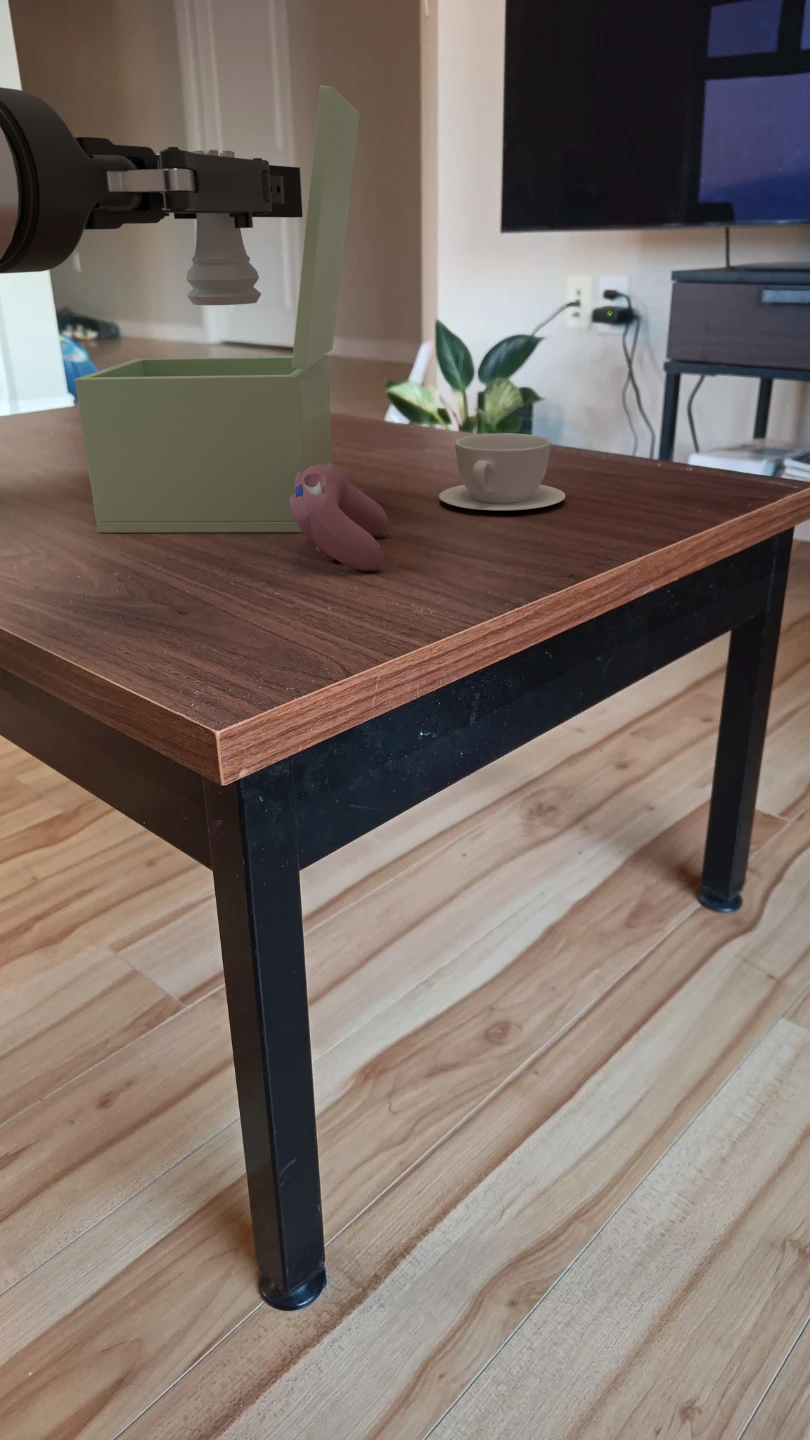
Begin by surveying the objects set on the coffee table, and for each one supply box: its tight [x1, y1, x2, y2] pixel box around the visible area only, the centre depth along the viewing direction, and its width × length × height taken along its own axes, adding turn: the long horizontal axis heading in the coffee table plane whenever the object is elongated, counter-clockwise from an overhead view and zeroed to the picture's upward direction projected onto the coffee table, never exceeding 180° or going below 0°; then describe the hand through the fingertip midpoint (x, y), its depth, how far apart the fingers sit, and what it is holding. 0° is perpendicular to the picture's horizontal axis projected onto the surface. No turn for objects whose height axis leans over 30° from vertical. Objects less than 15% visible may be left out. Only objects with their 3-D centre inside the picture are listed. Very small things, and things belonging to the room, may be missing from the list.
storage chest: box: [74, 355, 334, 534], centre depth 79 cm, size 16×14×11 cm
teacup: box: [438, 432, 566, 511], centre depth 81 cm, size 10×10×5 cm
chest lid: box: [292, 85, 361, 369], centre depth 72 cm, size 16×14×1 cm
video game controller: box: [289, 463, 390, 572], centre depth 68 cm, size 10×5×7 cm, turn 178°
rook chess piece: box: [185, 149, 262, 306], centre depth 60 cm, size 4×4×8 cm
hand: (268, 194), depth 64 cm, fingers closed on rook chess piece, 3 cm apart
